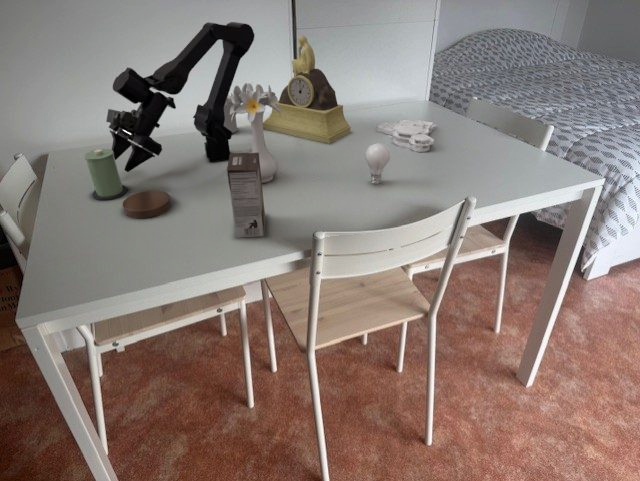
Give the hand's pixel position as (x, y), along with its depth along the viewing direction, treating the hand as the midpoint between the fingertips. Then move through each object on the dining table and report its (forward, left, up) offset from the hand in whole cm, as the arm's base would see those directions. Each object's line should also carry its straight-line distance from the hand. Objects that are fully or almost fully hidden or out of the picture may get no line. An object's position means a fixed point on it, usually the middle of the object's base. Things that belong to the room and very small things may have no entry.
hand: (118, 165), depth 116 cm
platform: (-6, +14, -6) cm, 16 cm away
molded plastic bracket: (-89, -7, -7) cm, 90 cm away
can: (-33, -34, -7) cm, 48 cm away
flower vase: (-35, +7, -7) cm, 36 cm away
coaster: (+4, +2, -6) cm, 7 cm away
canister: (+4, +2, -6) cm, 7 cm away
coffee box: (-27, +32, -7) cm, 42 cm away
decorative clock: (-59, -25, -7) cm, 65 cm away
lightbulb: (-63, +22, -7) cm, 67 cm away
